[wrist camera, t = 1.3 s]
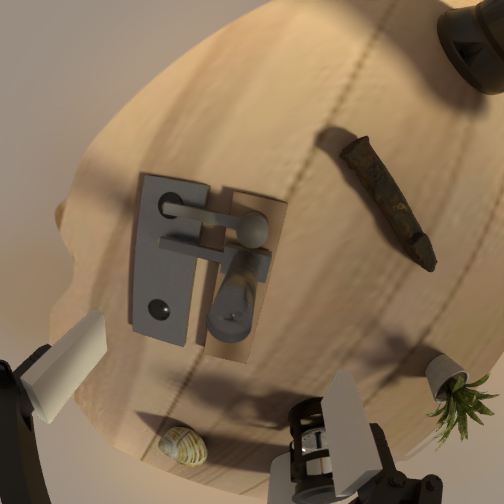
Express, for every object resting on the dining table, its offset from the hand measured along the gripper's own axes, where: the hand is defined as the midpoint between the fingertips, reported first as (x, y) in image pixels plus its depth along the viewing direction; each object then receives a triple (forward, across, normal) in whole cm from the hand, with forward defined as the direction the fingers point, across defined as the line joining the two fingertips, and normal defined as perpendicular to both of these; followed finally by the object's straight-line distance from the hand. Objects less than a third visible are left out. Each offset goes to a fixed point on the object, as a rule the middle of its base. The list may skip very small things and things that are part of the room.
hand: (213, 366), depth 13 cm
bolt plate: (+20, -10, -4) cm, 23 cm away
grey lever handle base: (+20, -4, -4) cm, 21 cm away
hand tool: (+20, +16, +10) cm, 28 cm away
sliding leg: (+19, -4, 0) cm, 19 cm away
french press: (+20, +17, -26) cm, 37 cm away
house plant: (+20, +35, -12) cm, 42 cm away
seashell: (+21, -4, -40) cm, 45 cm away
